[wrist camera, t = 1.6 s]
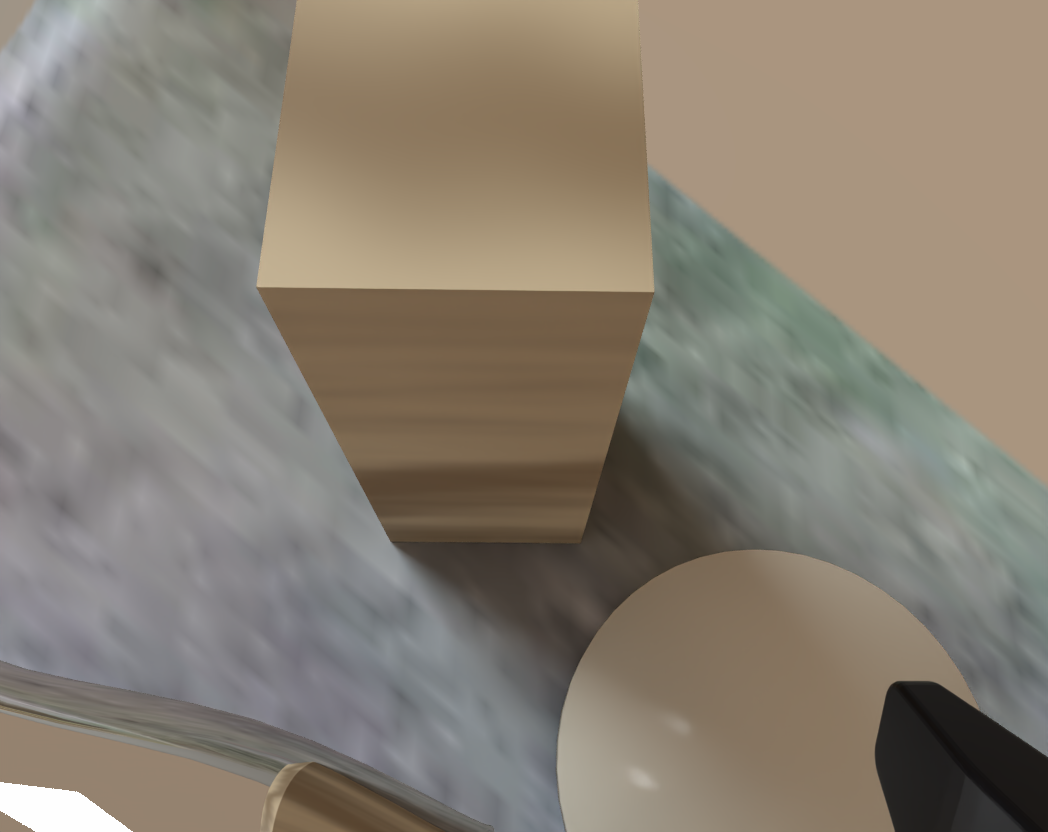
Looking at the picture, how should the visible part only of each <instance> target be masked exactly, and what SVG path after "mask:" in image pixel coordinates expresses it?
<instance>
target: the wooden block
mask: <svg viewBox="0 0 1048 832" xmlns="http://www.w3.org/2000/svg"><path fill="white" fill-rule="evenodd" d="M639 31H640V30H639V13H638V0H297V4H296V11H295V18H294V25H293V32H292V39H291V46H290V53H289V60H288V67H287V74H286V81H285V89H284V96H283V103H282V110H281V117H280V124H279V131H278V138H277V145H276V152H275V159H274V166H273V173H272V180H271V187H270V195H269V202H268V209H267V216H266V223H265V230H264V237H263V244H262V251H261V258H260V265H259V272H258V279H257V286H256V287H257V289H258V291H259V293H260V295H261V297H262V299H263V301H264V303H265V304H266V306H267V308H268V310H269V312H270V314H271V316H272V318H273V320H274V321H275V323H276V325H277V327H278V329H279V331H280V333H281V335H282V337H283V339H284V340H285V342H286V344H287V346H288V348H289V350H290V352H291V354H292V356H293V358H294V359H295V361H296V363H297V365H298V367H299V369H300V371H301V373H302V375H303V376H304V378H305V380H306V382H307V384H308V386H309V388H310V390H311V392H312V394H313V395H314V397H315V399H316V401H317V403H318V405H319V407H320V409H321V411H322V412H323V414H324V416H325V418H326V420H327V422H328V424H329V426H330V428H331V430H332V431H333V433H334V435H335V437H336V439H337V441H338V443H339V445H340V447H341V448H342V450H343V452H344V454H345V456H346V458H347V460H348V462H349V464H350V466H351V467H352V469H353V471H354V473H355V475H356V477H357V479H358V481H359V483H360V485H361V486H362V488H363V490H364V492H365V494H366V496H367V498H368V500H369V502H370V503H371V505H372V507H373V509H374V511H375V513H376V515H377V517H378V519H379V521H380V522H381V524H382V526H383V528H384V530H385V532H386V534H387V536H388V538H389V539H390V541H391V542H486V543H581V540H582V537H583V533H584V530H585V527H586V523H587V520H588V516H589V513H590V509H591V506H592V503H593V499H594V496H595V492H596V489H597V486H598V482H599V479H600V475H601V472H602V469H603V465H604V462H605V458H606V455H607V452H608V448H609V445H610V441H611V438H612V435H613V431H614V428H615V424H616V421H617V418H618V414H619V411H620V407H621V404H622V400H623V397H624V394H625V390H626V387H627V383H628V380H629V377H630V373H631V370H632V366H633V363H634V360H635V356H636V353H637V349H638V346H639V343H640V339H641V336H642V332H643V329H644V326H645V322H646V319H647V315H648V312H649V309H650V305H651V302H652V298H653V295H654V277H653V260H652V242H651V224H650V206H649V189H648V171H647V153H646V136H645V118H644V101H643V83H642V65H641V47H640V32H639Z"/></svg>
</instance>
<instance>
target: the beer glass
mask: <svg viewBox="0 0 1048 832" xmlns="http://www.w3.org/2000/svg"><path fill="white" fill-rule="evenodd" d="M0 832H494V828H493V826H491V825H487V824H484V823H481V822H479V821H477V820H475V819H472V818H470V817H468V816H466V815H464V814H462V813H460V812H458V811H456V810H454V809H452V808H450V807H448V806H446V805H444V804H443V803H441V802H439V801H437V800H435V799H433V798H431V797H429V796H428V795H426V794H424V793H422V792H420V791H418V790H416V789H414V788H412V787H410V786H408V785H406V784H404V783H402V782H400V781H398V780H396V779H395V778H393V777H391V776H389V775H387V774H385V773H383V772H381V771H379V770H377V769H375V768H373V767H371V766H369V765H367V764H364V763H362V762H360V761H358V760H355V759H353V758H351V757H349V756H346V755H344V754H342V753H340V752H337V751H335V750H333V749H331V748H329V747H326V746H324V745H322V744H320V743H317V742H315V741H313V740H310V739H307V738H305V737H302V736H299V735H296V734H294V733H291V732H288V731H285V730H283V729H280V728H277V727H274V726H272V725H269V724H266V723H263V722H261V721H258V720H255V719H252V718H248V717H244V716H240V715H237V714H233V713H229V712H225V711H221V710H217V709H214V708H210V707H206V706H202V705H198V704H194V703H190V702H185V701H180V700H175V699H170V698H166V697H161V696H156V695H151V694H146V693H141V692H136V691H131V690H126V689H121V688H115V687H110V686H105V685H100V684H94V683H89V682H84V681H78V680H73V679H69V678H64V677H60V676H55V675H51V674H46V673H42V672H37V671H33V670H28V669H25V668H22V667H19V666H16V665H13V664H10V663H7V662H4V661H1V660H0Z"/></svg>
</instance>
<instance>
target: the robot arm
mask: <svg viewBox="0 0 1048 832" xmlns="http://www.w3.org/2000/svg"><path fill="white" fill-rule="evenodd" d="M875 765H876V770H877V774H878V777H879V781H880V784H881V787H882V791H883V794H884V797H885V801H886V804H887V807H888V811H889V814H890V817H891V821H892V824H893V827H894V830H895V832H1048V757H1047V756H1045V755H1044V754H1042V753H1041V752H1039V751H1038V750H1036V749H1035V748H1033V747H1032V746H1031V745H1029V744H1028V743H1026V742H1025V741H1023V740H1022V739H1020V738H1019V737H1017V736H1016V735H1014V734H1013V733H1011V732H1010V731H1008V730H1007V729H1005V728H1004V727H1002V726H1001V725H999V724H998V723H997V722H995V721H994V720H992V719H991V718H989V717H988V716H986V715H985V714H983V713H982V712H980V711H979V710H977V709H976V708H974V707H973V706H971V705H970V704H968V703H967V702H965V701H964V700H962V699H961V698H960V697H958V696H957V695H955V694H954V693H952V692H951V691H949V690H948V689H946V688H945V687H943V686H942V685H940V684H938V683H936V682H932V681H896V682H894V683H892V684H891V685H890V687H889V688H888V690H887V693H886V696H885V701H884V706H883V710H882V715H881V720H880V724H879V729H878V734H877V738H876V743H875Z"/></svg>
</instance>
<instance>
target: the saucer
mask: <svg viewBox="0 0 1048 832" xmlns="http://www.w3.org/2000/svg"><path fill="white" fill-rule="evenodd" d="M896 681H932V682H936V683H938V684H940V685H942V686H943V687H945V688H946V689H948V690H949V691H951V692H952V693H954V694H955V695H957V696H958V697H960V698H961V699H962V700H964V701H965V702H967V703H968V704H970V705H971V706H973V707H974V708H976V709H977V710H979V708H978V706H977V703H976V701H975V699H974V697H973V695H972V693H971V691H970V689H969V688H968V686H967V684H966V682H965V680H964V678H963V676H962V674H961V673H960V671H959V670H958V669H957V667H956V666H955V664H954V663H953V661H952V660H951V658H950V657H949V655H948V654H947V652H946V651H945V649H944V648H943V647H942V646H941V645H940V643H939V642H938V641H937V640H936V639H935V638H934V636H933V635H932V634H931V633H930V632H929V631H928V629H927V628H926V627H925V626H924V625H923V624H922V623H921V622H920V621H919V620H918V619H917V618H916V617H914V616H913V615H912V614H911V613H910V612H909V611H908V610H907V609H906V608H905V607H904V606H903V605H901V604H900V603H899V602H897V601H896V600H895V599H893V598H892V597H891V596H889V595H888V594H887V593H885V592H884V591H883V590H881V589H880V588H878V587H876V586H875V585H873V584H871V583H870V582H868V581H866V580H865V579H863V578H861V577H859V576H858V575H856V574H854V573H851V572H849V571H847V570H845V569H842V568H840V567H838V566H836V565H833V564H831V563H828V562H825V561H821V560H818V559H815V558H812V557H808V556H805V555H800V554H794V553H788V552H783V551H774V550H753V549H751V550H739V551H727V552H722V553H717V554H712V555H708V556H703V557H700V558H697V559H694V560H691V561H689V562H686V563H683V564H680V565H678V566H675V567H674V568H672V569H670V570H668V571H666V572H664V573H662V574H660V575H658V576H656V577H655V578H653V579H652V580H650V581H649V582H647V583H646V584H645V585H643V586H642V587H641V588H639V589H638V590H636V591H635V592H634V593H632V594H631V595H630V596H629V597H628V598H627V599H626V600H625V601H624V602H623V603H622V604H621V605H620V606H619V607H618V608H617V609H616V610H614V611H613V613H612V614H611V615H610V617H609V618H608V619H607V620H606V622H605V623H604V624H603V625H602V627H601V628H600V629H599V630H598V632H597V633H596V635H595V636H594V638H593V640H592V641H591V643H590V645H589V646H588V648H587V650H586V651H585V653H584V655H583V656H582V658H581V660H580V662H579V664H578V666H577V668H576V671H575V673H574V675H573V678H572V680H571V682H570V685H569V687H568V690H567V694H566V697H565V701H564V704H563V708H562V711H561V716H560V723H559V729H558V736H557V747H556V778H557V789H558V800H559V805H560V809H561V814H562V819H563V823H564V828H565V832H895V830H894V827H893V824H892V821H891V817H890V814H889V811H888V807H887V804H886V801H885V797H884V794H883V791H882V787H881V784H880V781H879V777H878V774H877V770H876V765H875V743H876V738H877V734H878V729H879V724H880V720H881V715H882V710H883V706H884V701H885V696H886V693H887V690H888V688H889V687H890V685H891V684H892V683H894V682H896Z"/></svg>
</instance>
